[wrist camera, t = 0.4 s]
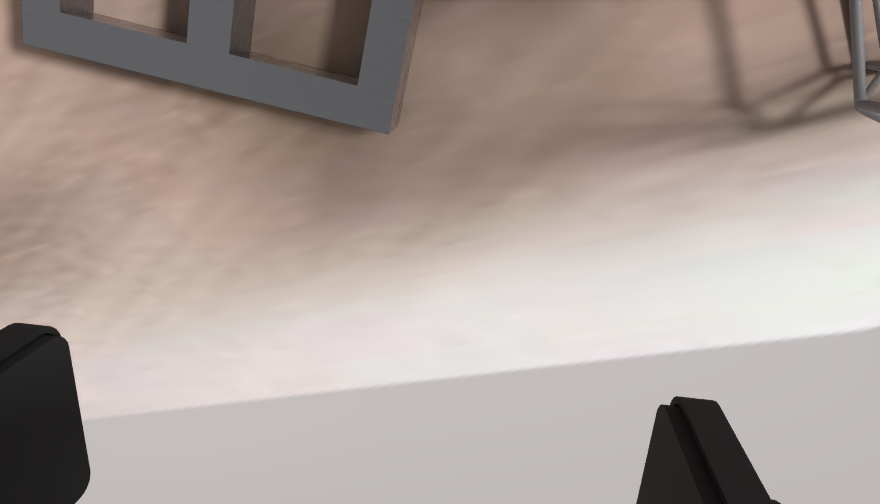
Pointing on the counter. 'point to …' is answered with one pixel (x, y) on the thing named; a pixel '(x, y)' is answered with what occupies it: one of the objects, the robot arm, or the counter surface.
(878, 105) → the geometric lantern
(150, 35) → the grey windowed frame
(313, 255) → the counter surface
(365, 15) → the counter surface
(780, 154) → the counter surface
